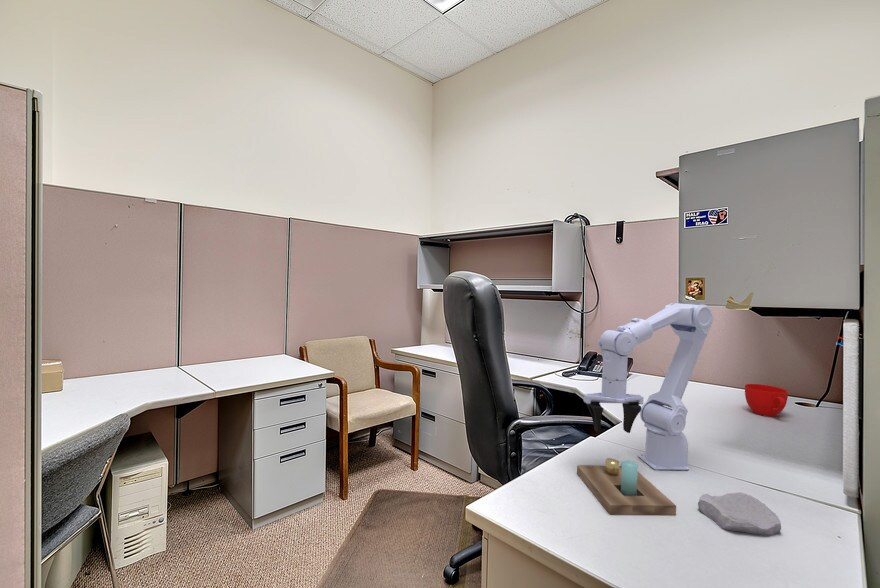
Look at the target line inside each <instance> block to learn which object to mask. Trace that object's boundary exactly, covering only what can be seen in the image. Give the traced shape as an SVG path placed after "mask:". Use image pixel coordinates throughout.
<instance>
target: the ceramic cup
mask: <svg viewBox="0 0 880 588" xmlns="http://www.w3.org/2000/svg"><path fill="white" fill-rule="evenodd" d="M744 396H745V401H746V403H747V405H748V407H749V408H750V409H751V410H752V411H753V413H754V414H756V415H760V416H762V417H763V416H764V417H769V418H770V417H774V418H775V417H777V416H778V415H779V414H781V413H782V411H783V410H784V409H786V408H785V407H786V406H787V402H788V396H789V391H788V390H786V389H785V388H782V387H778V386H775V385H774V386H772V385H768V384H767V385H766V384H760V383H759V384H758V383H747V384H745V385H744Z"/></svg>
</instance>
